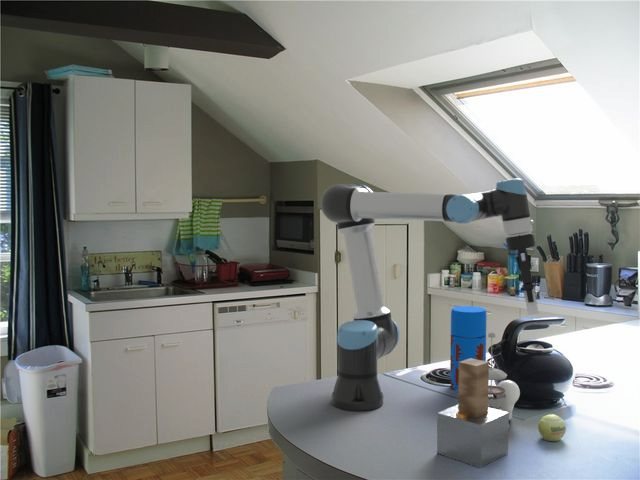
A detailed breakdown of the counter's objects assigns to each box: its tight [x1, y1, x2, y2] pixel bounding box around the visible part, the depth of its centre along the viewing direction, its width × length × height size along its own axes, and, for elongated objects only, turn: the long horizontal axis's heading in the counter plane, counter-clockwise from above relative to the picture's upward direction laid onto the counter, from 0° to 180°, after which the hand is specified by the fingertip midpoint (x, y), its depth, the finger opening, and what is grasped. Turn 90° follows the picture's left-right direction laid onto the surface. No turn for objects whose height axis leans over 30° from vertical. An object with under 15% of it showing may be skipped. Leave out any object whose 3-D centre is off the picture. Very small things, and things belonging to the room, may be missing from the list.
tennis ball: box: [537, 413, 567, 442], centre depth 176 cm, size 6×7×7 cm
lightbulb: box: [496, 379, 521, 421], centre depth 190 cm, size 6×6×11 cm
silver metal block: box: [436, 404, 510, 468], centre depth 167 cm, size 12×12×11 cm
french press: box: [487, 332, 511, 429], centre depth 186 cm, size 10×12×25 cm
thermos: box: [449, 305, 488, 392], centre depth 218 cm, size 11×11×25 cm
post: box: [457, 358, 490, 418], centre depth 166 cm, size 5×5×22 cm
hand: (532, 310), depth 193 cm, fingers open, 13 cm apart
